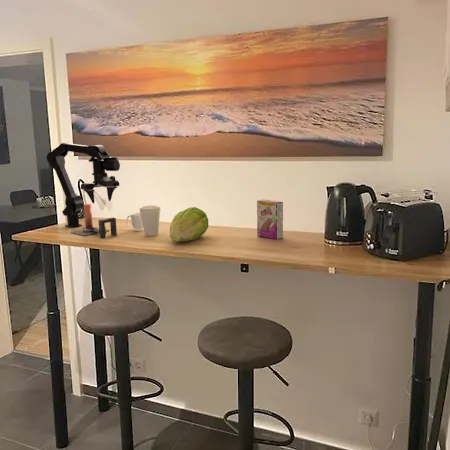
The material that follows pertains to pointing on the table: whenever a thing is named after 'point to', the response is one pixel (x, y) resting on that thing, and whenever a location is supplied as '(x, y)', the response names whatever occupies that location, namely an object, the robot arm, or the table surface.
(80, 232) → the mat
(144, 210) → the foam cup
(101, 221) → the brown square arch
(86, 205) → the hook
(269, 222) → the candy bar box
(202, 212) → the lettuce
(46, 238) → the table surface
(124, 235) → the table surface
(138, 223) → the cup
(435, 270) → the table surface
